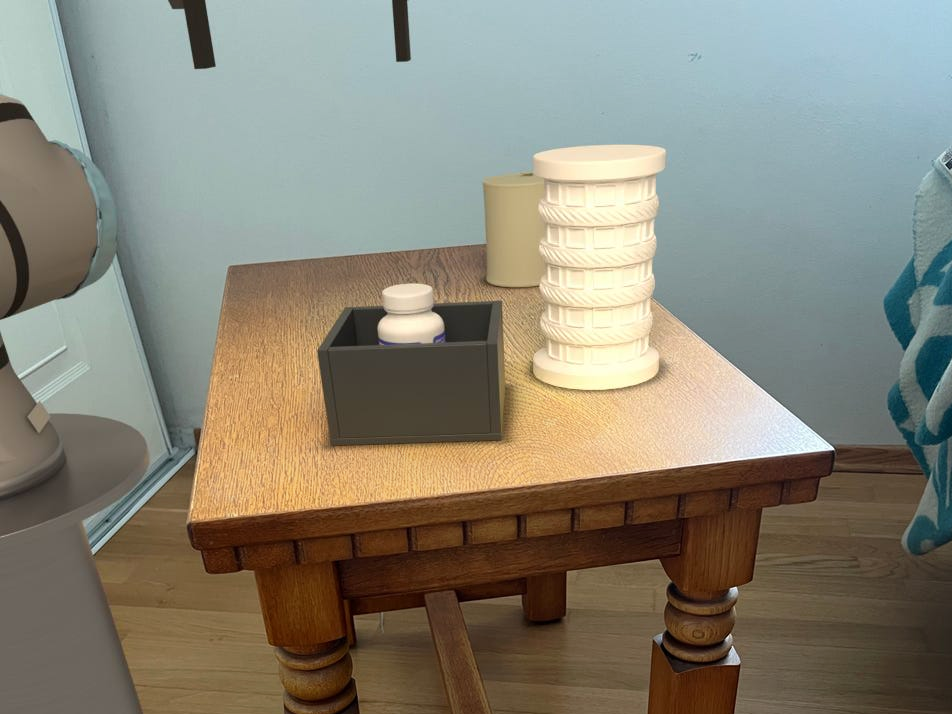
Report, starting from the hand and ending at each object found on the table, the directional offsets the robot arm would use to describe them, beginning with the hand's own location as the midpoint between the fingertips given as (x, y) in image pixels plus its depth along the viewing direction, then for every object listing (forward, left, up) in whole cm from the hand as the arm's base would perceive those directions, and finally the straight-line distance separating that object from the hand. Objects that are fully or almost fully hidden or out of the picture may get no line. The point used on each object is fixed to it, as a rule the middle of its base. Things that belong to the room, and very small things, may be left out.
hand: (304, 65), depth 64 cm
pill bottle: (+5, +2, -25) cm, 26 cm away
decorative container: (+21, +13, -26) cm, 36 cm away
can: (+14, +50, -26) cm, 58 cm away
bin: (+6, +2, -26) cm, 26 cm away
